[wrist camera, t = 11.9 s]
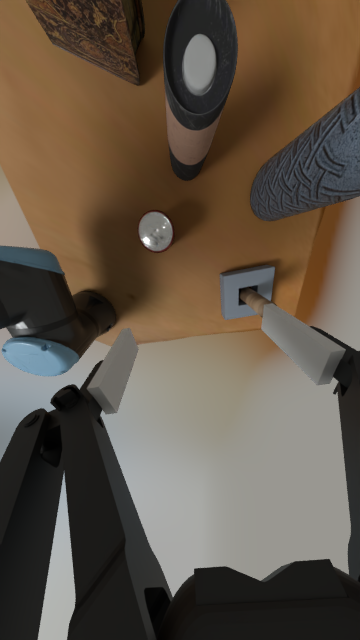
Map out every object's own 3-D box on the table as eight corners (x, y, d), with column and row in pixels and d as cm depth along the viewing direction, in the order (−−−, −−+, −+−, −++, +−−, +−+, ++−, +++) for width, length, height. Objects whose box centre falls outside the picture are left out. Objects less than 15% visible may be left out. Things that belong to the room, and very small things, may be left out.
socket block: (221, 314, 50) (225, 319, 47) (219, 273, 44) (223, 276, 40) (262, 307, 49) (269, 312, 46) (266, 264, 43) (275, 266, 39)
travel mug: (187, 191, 34) (200, 138, 17) (162, 161, 32) (146, 62, 14) (211, 157, 32) (255, 52, 14) (185, 122, 29) (200, -59, 12)
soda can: (176, 221, 37) (177, 213, 27) (172, 252, 41) (171, 255, 30) (148, 215, 37) (137, 205, 26) (146, 247, 40) (136, 249, 29)
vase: (302, 145, 31) (789, -226, 6) (299, 211, 37) (554, 147, 12) (246, 169, 33) (463, -56, 8) (251, 228, 38) (388, 204, 14)
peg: (236, 298, 48) (259, 320, 34) (236, 286, 46) (260, 304, 33) (248, 296, 47) (276, 317, 34) (248, 284, 46) (278, 301, 32)
